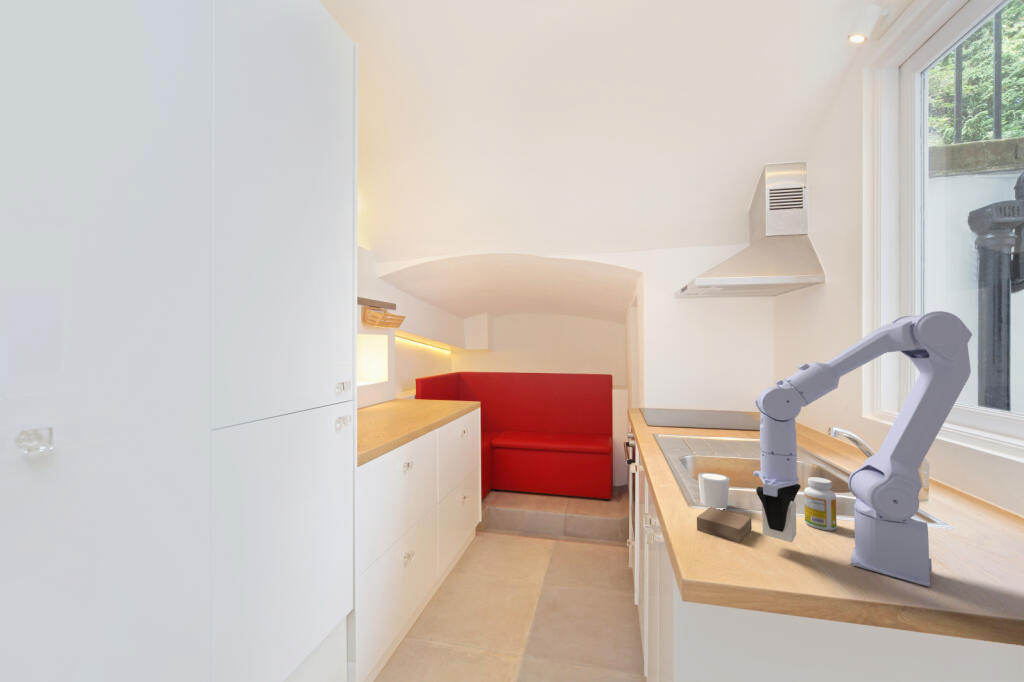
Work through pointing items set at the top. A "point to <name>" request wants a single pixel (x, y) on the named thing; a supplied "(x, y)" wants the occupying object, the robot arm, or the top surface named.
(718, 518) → the walnut block
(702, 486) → the white cup
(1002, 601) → the top surface
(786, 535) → the cream block
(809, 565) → the top surface
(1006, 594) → the top surface
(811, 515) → the supplement bottle
